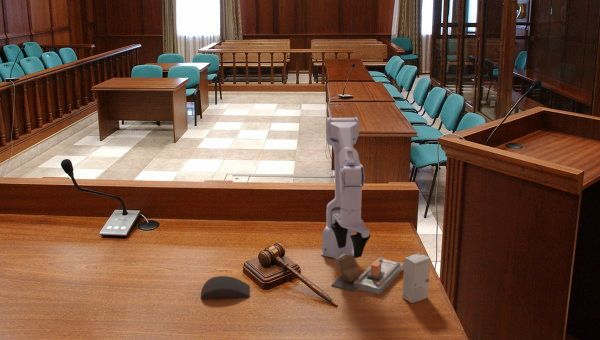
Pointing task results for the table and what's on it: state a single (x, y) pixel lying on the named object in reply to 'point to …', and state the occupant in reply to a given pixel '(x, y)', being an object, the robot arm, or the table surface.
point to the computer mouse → (225, 288)
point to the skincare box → (416, 277)
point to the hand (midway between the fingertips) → (349, 251)
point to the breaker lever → (376, 270)
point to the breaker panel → (377, 285)
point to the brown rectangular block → (347, 267)
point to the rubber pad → (344, 284)
